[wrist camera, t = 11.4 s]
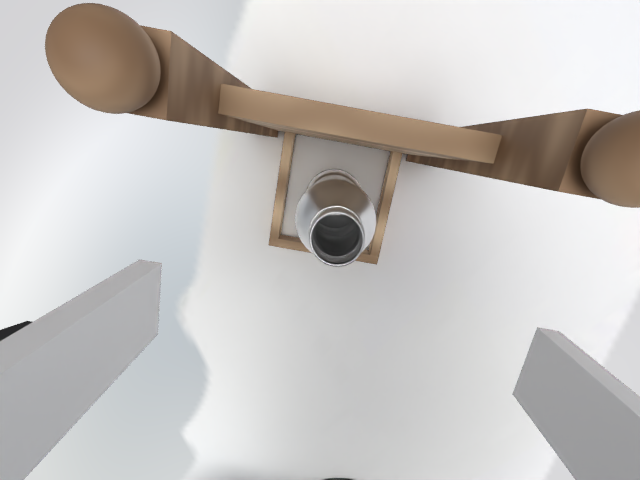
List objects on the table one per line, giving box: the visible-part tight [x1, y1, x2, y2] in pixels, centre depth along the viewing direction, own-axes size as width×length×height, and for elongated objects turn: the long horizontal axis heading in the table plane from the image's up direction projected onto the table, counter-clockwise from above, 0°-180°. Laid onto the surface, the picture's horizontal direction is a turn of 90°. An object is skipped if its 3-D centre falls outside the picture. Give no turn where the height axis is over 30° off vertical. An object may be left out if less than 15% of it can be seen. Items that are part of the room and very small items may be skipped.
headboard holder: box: [45, 3, 640, 264], centre depth 27 cm, size 15×21×31 cm
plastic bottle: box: [295, 169, 376, 267], centre depth 32 cm, size 6×7×20 cm
